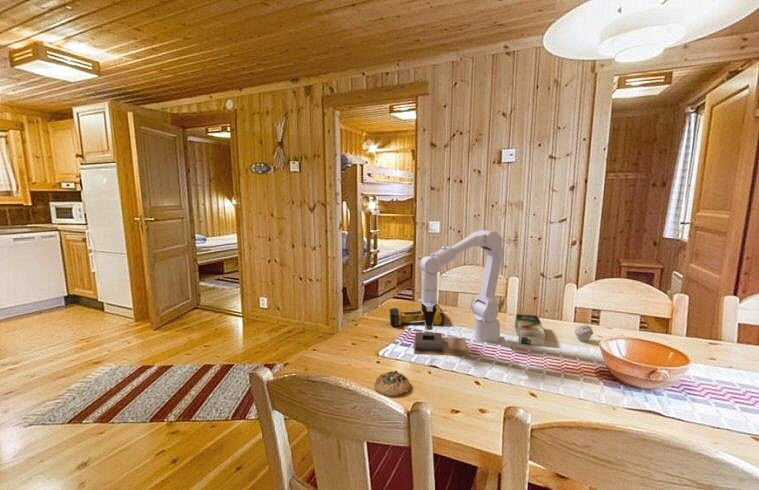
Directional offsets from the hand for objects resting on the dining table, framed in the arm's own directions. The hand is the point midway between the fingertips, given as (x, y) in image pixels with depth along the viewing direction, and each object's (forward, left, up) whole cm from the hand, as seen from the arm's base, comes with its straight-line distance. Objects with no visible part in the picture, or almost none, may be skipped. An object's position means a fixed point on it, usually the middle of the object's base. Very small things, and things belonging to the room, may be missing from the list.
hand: (428, 323), depth 134 cm
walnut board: (-5, 0, -10) cm, 11 cm away
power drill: (+5, -33, -10) cm, 35 cm away
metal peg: (0, 0, -2) cm, 2 cm away
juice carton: (-42, -16, -10) cm, 46 cm away
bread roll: (+12, +29, -10) cm, 33 cm away
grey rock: (-61, -12, -10) cm, 63 cm away
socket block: (0, 0, -10) cm, 10 cm away
